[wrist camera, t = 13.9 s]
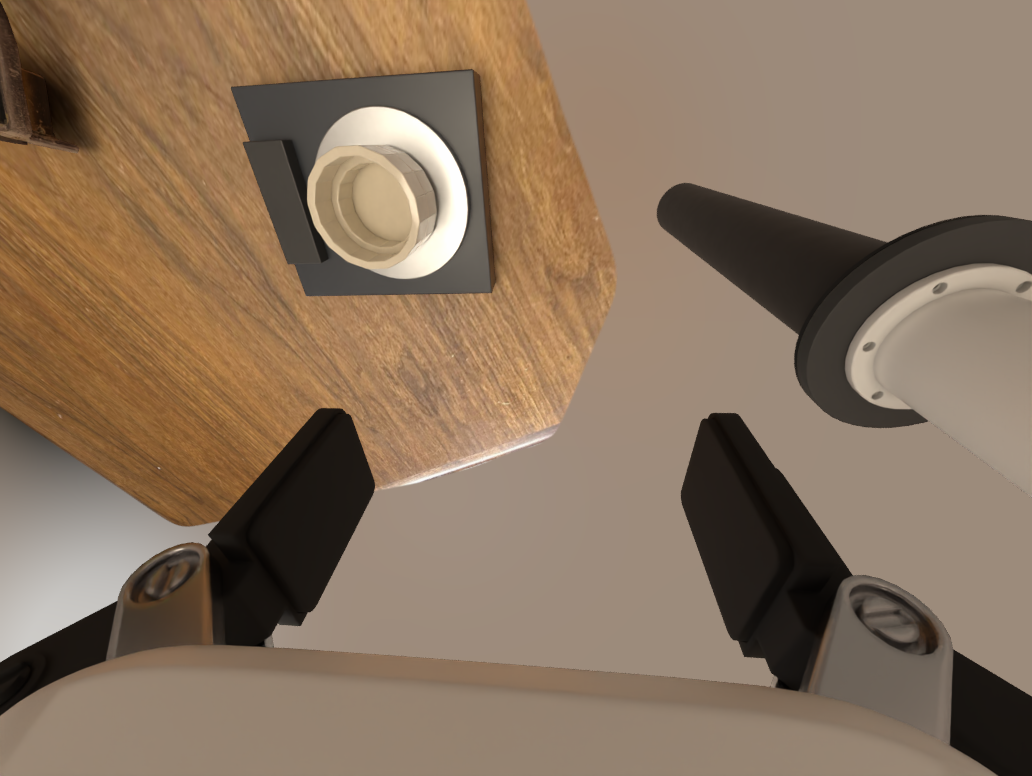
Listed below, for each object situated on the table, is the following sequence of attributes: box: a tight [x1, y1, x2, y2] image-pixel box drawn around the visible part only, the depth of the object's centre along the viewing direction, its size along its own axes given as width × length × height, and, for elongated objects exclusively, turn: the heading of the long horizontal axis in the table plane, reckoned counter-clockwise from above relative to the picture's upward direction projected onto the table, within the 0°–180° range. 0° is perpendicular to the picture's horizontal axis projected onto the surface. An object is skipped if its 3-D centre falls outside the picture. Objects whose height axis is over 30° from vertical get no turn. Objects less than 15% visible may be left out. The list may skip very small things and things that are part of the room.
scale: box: [231, 69, 495, 296], centre depth 28 cm, size 16×14×4 cm
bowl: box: [307, 145, 437, 269], centre depth 25 cm, size 7×7×5 cm
